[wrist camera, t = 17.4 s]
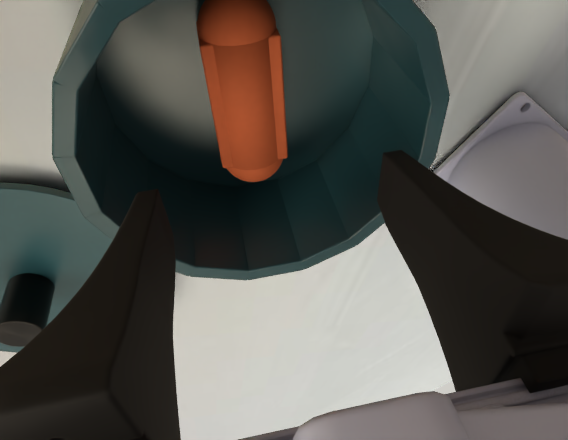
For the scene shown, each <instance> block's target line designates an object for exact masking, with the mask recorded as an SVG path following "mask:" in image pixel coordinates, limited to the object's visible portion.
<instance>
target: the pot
mask: <svg viewBox="0 0 568 440" xmlns="http://www.w3.org/2000/svg"><path fill="white" fill-rule="evenodd" d="M204 1H205V0H84V2H83V4H82V6H81V8H80V10H79V13H78V16H77V18H76V21H75V23H74V26H73V28H72V31H71V33H70V36H69V39H68V41H67V44H66V46H65V49H64V51H63V54H62V57H61V59H60V62H59V64H58V67H57V69H56V72H55V75H54V77H53V82H52V155H53V160H54V162H55V164H56V166H57V168H58V170H59V171H60V173H61V175H62V177H63V179H64V181H65V183H66V185H67V187H68V189H69V190H70V192H71V194H72V196H73V198H74V200H75V202H76V204H77V206H78V207H79V209H80V211H81V213H82V215H83V217H85V219H87V220H88V221H89V222H90V223H92V224H93V225H94V226H95V227H97V228H98V229H99V230H100V231H101V232H103V233H104V234H105V235H106V236H108V237H109V238H110V239H111V240H113V239H114V237H115V235H116V233H117V232H118V230H119V228H120V226H121V224H122V222H123V220H124V218H125V216H126V214H127V212H128V210H129V208H130V206H131V204H132V202H133V200H134V197H135V195H136V194H137V193H138V192H141V191H148V190H154V189H158V190H159V193H160V196H161V199H162V202H163V205H164V208H165V211H166V214H167V217H168V220H169V223H170V226H171V229H172V232H173V235H174V246H175V259H176V269H175V272H178V273H181V274H184V275H186V276H191V277H204V278H220V279H235V280H247V279H248V280H252V279H257V278H262V277H268V276H273V275H278V274H284V273H289V272H294V271H300V270H303V269H307V268H309V267H311V266H313V265H315V264H318V263H320V262H322V261H324V260H326V259H328V258H331V257H333V256H335V255H337V254H339V253H342V252H344V251H346V250H348V249H350V248H352V247H355V246H356V245H358V244H359V243H361V242H362V241H363V240H364V239H365V238H367V237H368V236H369V235H370V234H371V233H373V232H374V231H375V230H376V229H378V228H379V227H380V226H381V225H382V224H384V223H385V221H384V218H383V216H382V213H381V210H380V207H379V204H378V201H377V196H378V188H379V180H380V172H381V164H382V157H383V153H384V152H390V151H396V150H402V151H404V152H405V153H407V154H408V155H410V156H411V157H412V158H414V159H415V160H417V161H418V162H419V163H421V164H422V165H424V166H425V167H426V168H428V169H429V167H430V166H431V164H432V163H433V161H434V160H435V157H436V153H437V149H438V144H439V140H440V136H441V132H442V127H443V123H444V119H445V115H446V110H447V106H448V102H449V96H450V94H449V89H448V84H447V80H446V75H445V70H444V65H443V61H442V56H441V51H440V46H439V41H438V37H437V32H436V29H435V26H434V25H433V24H432V23H431V22H430V20H429V19H428V18H427V17H426V16H425V15H424V13H423V12H422V11H421V10H420V9H419V8H418V6H417V5H416V4H415V3H414V2H413V1H412V0H267V2H268V3H269V5H270V6H271V8H272V10H273V13H274V16H275V21H276V26H277V30H278V32H279V34H280V36H281V46H282V63H283V80H284V98H285V115H286V132H287V149H288V157H287V158H285V159H283V161H282V163H281V165H280V167H279V169H278V170H277V171H276V172H275V173H274V174H273V175H272V176H271V177H269V178H267V179H265V180H262V181H258V182H247V181H243V180H240V179H238V178H236V177H235V176H233V175H232V174H231V173H230V172H229V171H228V170H227V168H223V167H222V162H221V156H220V151H219V146H218V141H217V136H216V130H215V125H214V120H213V115H212V110H211V104H210V99H209V94H208V89H207V84H206V78H205V73H204V68H203V63H202V58H201V52H200V47H199V40H198V33H197V25H196V22H197V20H198V14H199V11H200V8H201V6H202V4H203V3H204Z"/></svg>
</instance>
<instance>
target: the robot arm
mask: <svg viewBox="0 0 568 440" xmlns="http://www.w3.org/2000/svg"><path fill="white" fill-rule="evenodd" d="M524 104H525V105H524ZM523 105H524V106H523ZM522 106H523V107H522ZM521 107H522V108H521ZM377 201H378V204H379V207H380V210H381V213H382V216H383V218H384V221H385V224H386V226H387V228H388V230H389V232H390V234H391V236H392V237H393V239H394V241H395V243H396V245H397V247H398V249H399V251H400V252H401V254H402V256H403V258H404V260H405V262H406V264H407V265H408V267H409V269H410V271H411V273H412V275H413V276H414V278H415V281H416V283H417V285H418V287H419V289H420V291H421V294H422V296H423V299H424V301H425V304H426V306H427V309H428V311H429V314H430V316H431V319H432V322H433V324H434V327H435V330H436V333H437V335H438V338H439V341H440V344H441V347H442V350H443V352H444V355H445V358H446V361H447V364H448V367H449V370H450V374H451V377H452V380H453V383H454V387H455V390H456V392H454V393H449V394H441V393H438V392H435V391H432V392H422V393H415V394H411V395H406V396H401V397H397V398H392V399H388V400H383V401H378V402H374V403H369V404H365V405H360V406H355V407H351V408H346V409H342V410H337V411H332V412H329V413H326V414H323V415H320V416H317V417H314V418H312V419H310V420H309V421H307V422H305V423H304V424H302V425H301V426H298V427H294V428H289V429H285V430H280V431H275V432H271V433H266V434H262V435H257V436H253V437H248V438H243V439H239V440H568V131H567V130H565V129H564V128H563V127H562V126H561V125H560V124H559V123H558V122H557V121H556V120H554V119H553V118H552V117H551V116H550V115H549V114H548V113H547V112H546V111H545V110H543V109H542V108H541V107H540V106H539V105H538V104H537V103H536V102H535V101H533V100H532V99H531V98H530V97H529V96H528V95H527V94H526V93H524V92H518V93H515V94H514V95H513V96H512V97H511V98H509V99H508V100H507V101H506V102H505V103H504V104H503V105H502V106H501V107H500V108H499V109H498V110H497V111H496V112H495V113H494V114H493V115H492V116H491V117H490V118H489V119H488V120H487V121H486V122H485V123H483V124H482V125H481V126H480V127H479V128H478V129H477V130H476V131H475V132H474V133H473V134H472V135H471V136H470V137H469V138H468V139H467V140H466V141H465V142H464V143H463V144H462V145H461V146H460V147H459V148H457V149H456V150H455V151H454V152H453V153H452V154H451V155H450V156H449V157H448V158H447V159H446V160H445V161H444V162H443V163H442V164H441V165H440V166H439V167H438V168H437V169H436V170H435V171H434V172H432V171H431V170H429V169H428V168H426V167H425V166H424V165H422V164H421V163H419V162H418V161H417V160H415V159H414V158H412V157H411V156H410V155H408V154H407V153H405V152H404V151H402V150H396V151H390V152H384V153H383V157H382V164H381V172H380V180H379V188H378V196H377ZM175 269H176V259H175V246H174V235H173V232H172V229H171V226H170V223H169V220H168V217H167V214H166V211H165V208H164V205H163V202H162V199H161V196H160V193H159V190H158V189H154V190H148V191H141V192H138V193H137V194H136V195H135V197H134V200H133V202H132V204H131V206H130V208H129V210H128V212H127V214H126V216H125V218H124V220H123V222H122V224H121V226H120V228H119V230H118V232H117V233H116V235H115V237H114V239H113V241H112V242H111V244H110V246H109V247H108V249H107V251H106V252H105V254H104V255H103V257H102V259H101V260H100V262H99V263H98V265H97V266H96V268H95V269H94V271H93V272H92V273H91V275H90V276H89V278H88V279H87V280H86V282H85V283H84V284H83V286H82V287H81V288H80V289H79V291H78V292H77V293H76V294H75V296H74V297H73V298H72V299H71V300H70V301H69V303H68V304H67V305H66V306H65V307H64V308H63V309H62V310H61V312H60V313H59V314H58V315H57V316H56V317H55V318H54V319H53V320H52V321H51V322H50V323H49V324H48V325H47V326H46V327H45V328H44V329H43V330H42V331H41V332H40V333H39V334H38V335H37V336H36V337H35V338H34V339H33V340H31V341H30V342H29V343H28V344H27V345H26V346H25V347H24V348H23V349H21V350H20V351H19V352H18V353H17V354H15V355H14V356H13V357H12V358H11V359H9V360H8V361H7V362H6V363H5V364H3V365H2V366H1V367H0V440H181V438H180V428H179V417H178V406H177V394H176V380H175V366H174V350H173V310H174V291H175Z"/></svg>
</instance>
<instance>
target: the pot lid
mask: <svg viewBox="0 0 568 440" xmlns="http://www.w3.org/2000/svg"><path fill="white" fill-rule="evenodd" d="M112 241H113V240H111V239H110V238H109V237H108V236H106V235H105V234H104V233H103V232H101V231H100V230H99V229H98V228H97V227H95V226H94V225H93V224H92V223H90V222H89V221H88V220H87V219H85V217H83V215H82V213H81V211H80V209H79V207H78V206H77V204H76V202H75V200H74V198H73V196H72V194H71V193H69V192H65V191H61V190H57V189H54V188H49V187H43V186H37V185H31V184H20V183H0V351H7V352H19V351H20V350H21V349H23V348H24V347H25V346H26V345H27V344H28V343H29V342H30V341H31V340H33V339H34V338H35V337H36V336H37V335H38V334H39V333H40V332H41V331H42V330H43V329H44V328H45V327H46V326H47V325H48V324H49V323H50V322H51V321H52V320H53V319H54V318H55V317H56V316H57V315H58V314H59V313H60V312H61V310H62V309H63V308H64V307H65V306H66V305H67V304H68V303H69V301H70V300H71V299H72V298H73V297H74V296H75V294H76V293H77V292H78V291H79V289H80V288H81V287H82V286H83V284H84V283H85V282H86V280H87V279H88V278H89V276H90V275H91V273H92V272H93V271H94V269H95V268H96V266H97V265H98V263H99V262H100V260H101V259H102V257H103V255H104V254H105V252H106V251H107V249H108V247H109V246H110V244H111V242H112Z"/></svg>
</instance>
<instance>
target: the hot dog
mask: <svg viewBox="0 0 568 440" xmlns="http://www.w3.org/2000/svg"><path fill="white" fill-rule="evenodd" d="M196 25H197V33H198V40H199V47H200V52H201V58H202V63H203V68H204V73H205V78H206V84H207V89H208V94H209V99H210V104H211V110H212V115H213V120H214V125H215V130H216V136H217V141H218V146H219V151H220V156H221V162H222V167H223V168H227V170H228V171H229V172H230V173H231V174H232V175H233V176H235V177H236V178H238V179H240V180H243V181H247V182H258V181H262V180H265V179H267V178H269V177H271V176H272V175H273V174H274V173H275V172H276V171H277V170H278V169H279V167H280V165H281V163H282V161H283V159H285V158H287V157H288V149H287V132H286V115H285V98H284V80H283V63H282V46H281V36H280V34H279V32H278V30H277V26H276V21H275V16H274V13H273V10H272V8H271V6H270V5H269V3H268V2H267V0H205V1H204V3H203V4H202V6H201V8H200V11H199V14H198V20H197V22H196Z"/></svg>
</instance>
